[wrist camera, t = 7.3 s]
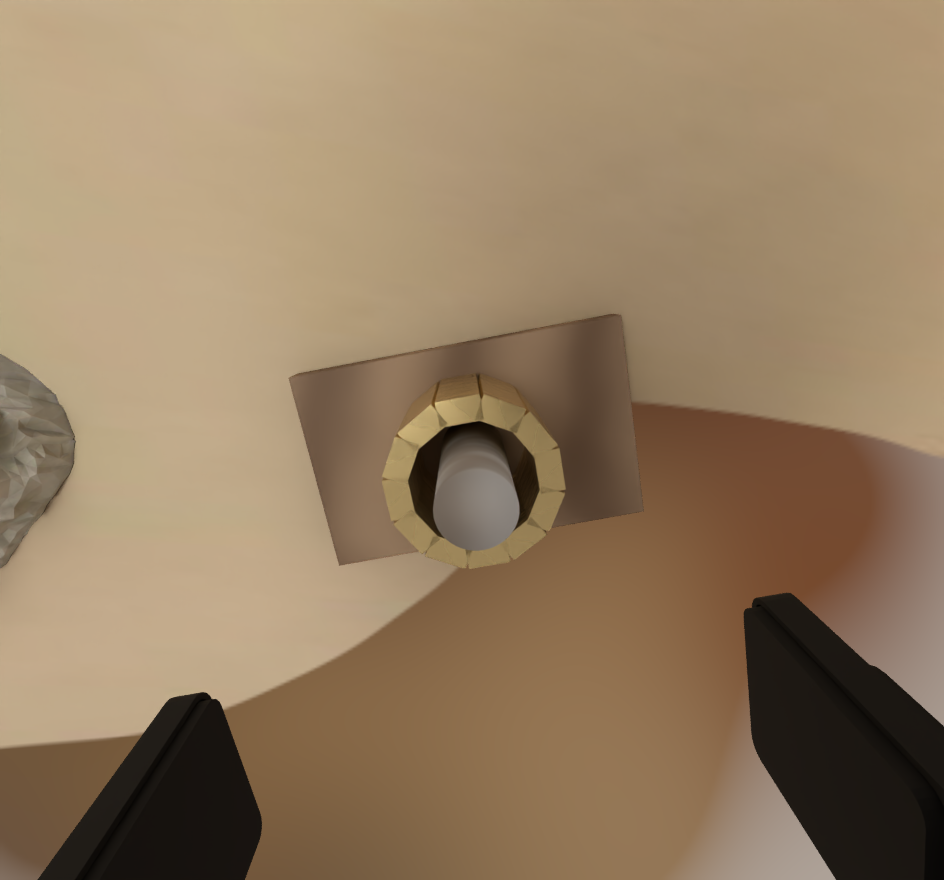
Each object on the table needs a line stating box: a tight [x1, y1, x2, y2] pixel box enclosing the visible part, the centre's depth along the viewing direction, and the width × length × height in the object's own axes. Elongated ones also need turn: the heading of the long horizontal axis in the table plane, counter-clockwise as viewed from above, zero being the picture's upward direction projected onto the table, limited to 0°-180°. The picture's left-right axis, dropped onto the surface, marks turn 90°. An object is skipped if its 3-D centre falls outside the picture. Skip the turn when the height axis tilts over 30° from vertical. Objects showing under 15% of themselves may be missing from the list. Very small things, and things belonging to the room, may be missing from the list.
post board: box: [289, 314, 644, 566], centre depth 24 cm, size 16×10×10 cm, turn 101°
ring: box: [382, 373, 566, 569], centre depth 25 cm, size 7×7×6 cm
